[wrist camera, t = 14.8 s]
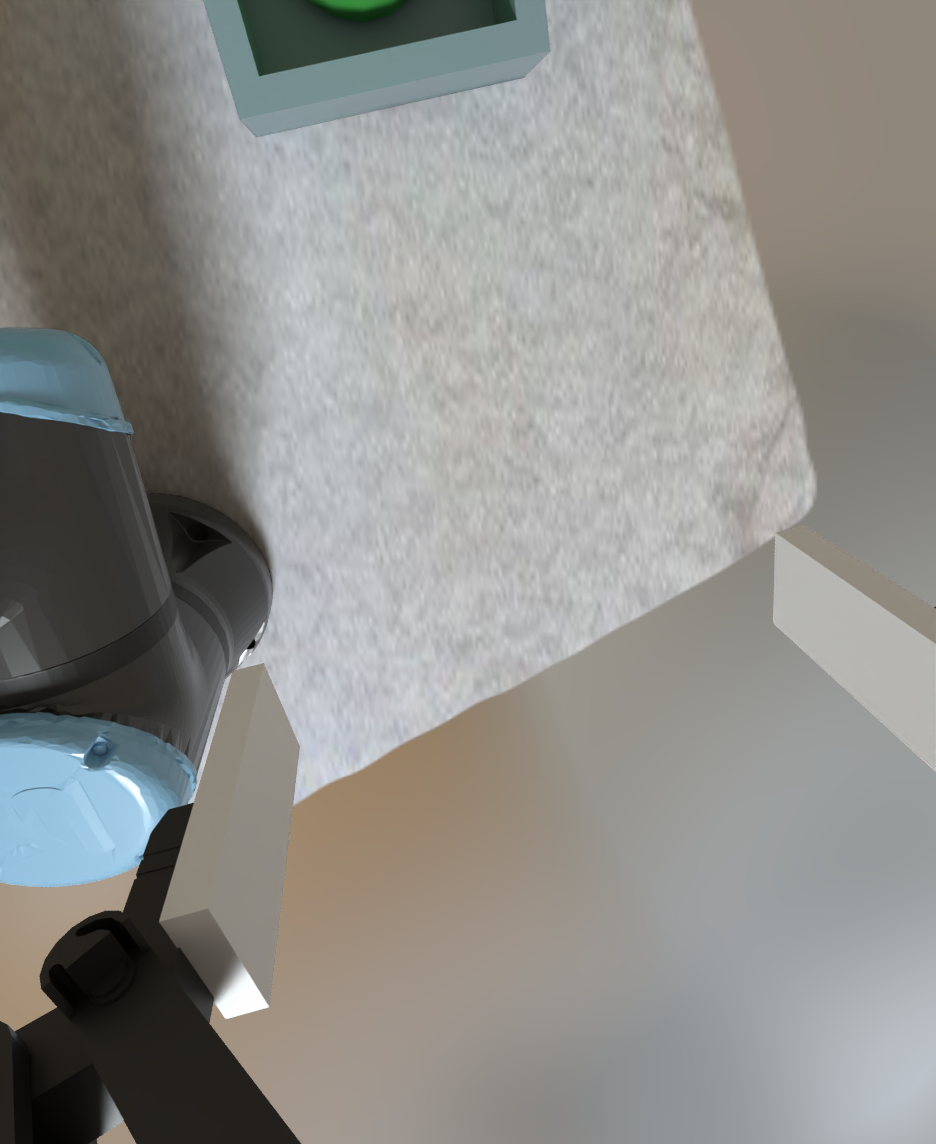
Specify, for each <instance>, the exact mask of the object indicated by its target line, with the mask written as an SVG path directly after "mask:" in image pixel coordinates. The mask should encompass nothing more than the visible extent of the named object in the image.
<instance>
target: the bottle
mask: <svg viewBox="0 0 936 1144" xmlns="http://www.w3.org/2000/svg"><path fill="white" fill-rule="evenodd" d="M307 1H309V2H310V3H312V4H313V5H315V6H317V7H318V8H320V9H322V10H323V11H325V12H326V13H328V14H330V15H331V16H333V17H334V18H340V19H346V20H352V21H358V22H367V21H371V20H374V19H378V18H382V17H385V16H389V15H392V14H393V13H394V12H395V11H396V10H397V9H399V8H400V7H401V6H402V5H403V4H405V3H406V2H407V1H408V0H307Z"/></svg>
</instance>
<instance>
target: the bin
mask: <svg viewBox="0 0 936 1144" xmlns="http://www.w3.org/2000/svg"><path fill="white" fill-rule="evenodd" d="M203 1H204V4H205V8H206V11H207V14H208V17H209V21H210V24H211V27H212V30H213V34H214V37H215V40H216V44H217V47H218V50H219V53H220V57H221V60H222V63H223V67H224V70H225V73H226V76H227V80H228V83H229V86H230V89H231V93H232V96H233V99H234V103H235V106H236V109H237V112H238V116H239V119H240V121H241V122H242V123H243V124H244V125H245V126H246V127H247V128H248V129H249V130H250V131H251V132H252V133H253V134H254V135H255V136H256V137H259V136H264V135H268V134H273V133H277V132H282V131H286V130H291V129H295V128H300V127H304V126H309V125H313V124H318V123H322V122H327V121H331V120H336V119H340V118H345V117H349V116H354V115H358V114H363V113H367V112H372V111H376V110H381V109H385V108H390V107H394V106H399V105H403V104H408V103H412V102H417V101H421V100H426V99H430V98H435V97H439V96H444V95H448V94H453V93H457V92H462V91H466V90H471V89H475V88H480V87H484V86H489V85H493V84H498V83H502V82H507V81H511V80H516V79H520V78H524V77H525V76H526V75H527V74H528V73H529V72H530V71H531V70H532V69H533V68H534V67H535V66H536V65H537V64H538V63H539V62H540V61H541V60H542V59H543V58H544V57H545V56H546V55H547V54H548V53H549V52H550V43H549V34H548V25H547V16H546V7H545V0H408V1H407V2H406V3H405V4H403V5H402V6H401V7H400V8H399V9H397V10H396V11H395V12H394V13H393V14H392V15H389V16H385V17H382V18H378V19H374V20H371V21H367V22H358V21H352V20H346V19H340V18H334V17H333V16H331V15H330V14H328V13H326V12H325V11H323V10H322V9H320V8H318V7H317V6H315V5H313V4H312V3H310V2H309V1H307V0H203Z"/></svg>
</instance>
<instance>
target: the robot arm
mask: <svg viewBox="0 0 936 1144" xmlns="http://www.w3.org/2000/svg"><path fill="white" fill-rule="evenodd" d="M132 434H134V431H133V428H132V425H131V423H129V422H127V421H126V420H125V418H124V415H123V412H122V409H121V406H120V403H119V400H118V397H117V394H116V391H115V388H114V385H113V382H112V379H111V376H110V373H109V370H108V368H107V365H106V363H105V361H104V359H103V358H102V356H101V355H100V353H99V352H98V351H97V350H96V349H95V348H94V347H93V346H92V345H91V344H90V343H89V342H87V341H86V340H84V339H83V338H81V337H79V336H77V335H75V334H73V333H70V332H67V331H63V330H56V329H43V328H14V327H0V882H2V883H6V884H14V885H21V886H34V887H57V886H70V885H78V884H85V883H90V882H95V881H99V880H103V879H106V878H110V877H113V876H115V875H118V874H121V873H123V872H126V871H128V870H130V869H132V868H134V867H136V866H137V865H139V864H140V865H139V868H138V871H137V874H136V876H137V879H135V880H134V883H133V885H132V888H131V891H130V893H129V896H128V899H127V902H126V905H125V908H124V910H123V913H122V912H121V911H104V912H101V913H98V914H95V915H93V916H90V917H88V918H86V919H85V920H83V921H82V922H80V923H78V924H77V925H76V926H74V927H72V928H71V929H70V930H69V931H68V932H67V933H66V934H65V935H64V936H63V937H62V938H61V939H60V940H59V941H58V942H57V943H56V944H55V946H54V947H53V949H52V950H51V951H50V953H49V954H48V956H47V957H46V959H45V961H44V964H43V967H42V970H41V973H40V983H41V989H42V990H43V991H44V993H45V994H46V995H47V996H48V997H49V998H50V999H51V1000H52V1002H53V1003H54V1004H55V1005H56V1006H57V1008H55V1009H54V1010H52V1011H50V1012H49V1013H47V1014H45V1015H43V1016H41V1017H40V1018H38V1019H36V1020H34V1021H32V1022H31V1023H29V1024H27V1025H25V1026H24V1027H22V1028H20V1029H18V1030H17V1031H15V1032H14V1031H13V1030H12V1029H11V1028H10V1027H9V1026H8V1025H7V1024H5V1023H3V1022H1V1021H0V1144H97V1138H98V1137H99V1136H101V1135H103V1134H104V1133H106V1132H107V1131H109V1130H111V1129H112V1128H114V1127H115V1126H117V1125H118V1124H120V1123H121V1122H123V1121H124V1122H125V1123H126V1125H127V1127H128V1129H129V1130H130V1132H131V1134H132V1136H133V1138H134V1140H135V1142H136V1143H137V1144H301V1143H300V1142H299V1141H298V1140H297V1138H296V1137H295V1135H294V1134H293V1133H292V1131H291V1130H290V1129H289V1127H288V1126H287V1125H286V1123H285V1122H284V1121H283V1119H282V1118H281V1117H280V1116H279V1114H278V1113H277V1111H276V1110H275V1109H274V1108H273V1106H272V1105H271V1104H270V1103H269V1101H268V1100H267V1098H266V1097H265V1096H264V1095H263V1093H262V1092H261V1091H260V1089H259V1088H258V1087H257V1085H256V1084H255V1083H254V1082H253V1080H252V1079H251V1077H250V1076H249V1075H248V1074H247V1072H246V1071H245V1070H244V1068H243V1067H242V1066H241V1064H240V1063H239V1062H238V1060H237V1059H236V1058H235V1057H234V1055H233V1054H232V1053H231V1051H230V1050H229V1049H228V1047H227V1046H226V1045H225V1043H224V1042H223V1041H222V1040H221V1038H220V1037H219V1036H218V1034H217V1033H216V1032H215V1030H214V1029H213V1028H212V1026H211V1025H210V1024H209V1022H210V1017H211V1012H212V1006H213V1001H214V1002H215V1004H216V1005H217V1007H218V1008H219V1010H220V1011H221V1013H222V1014H223V1016H224V1017H225V1018H226V1019H228V1018H231V1017H235V1016H239V1015H242V1014H246V1013H249V1012H253V1011H257V1010H260V1009H264V1008H268V1007H269V1005H270V996H271V988H272V979H273V971H274V962H275V954H276V945H277V936H278V928H279V919H280V910H281V902H282V894H283V885H284V876H285V867H286V860H287V851H288V843H289V834H290V825H291V817H292V809H293V800H294V791H295V783H296V774H297V766H298V757H299V749H300V746H299V744H298V741H297V739H296V737H295V734H294V732H293V730H292V727H291V725H290V723H289V720H288V718H287V716H286V714H285V711H284V709H283V707H282V704H281V702H280V700H279V697H278V695H277V693H276V690H275V688H274V686H273V684H272V681H271V679H270V677H269V674H268V672H267V670H266V667H265V665H264V663H263V664H259V665H255V666H251V667H247V668H243V669H239V670H235V669H237V667H238V666H239V665H241V664H242V663H243V662H244V661H245V660H246V659H247V658H248V657H249V656H250V654H251V653H252V652H253V651H254V649H255V648H256V647H257V645H258V643H259V642H260V640H261V638H262V636H263V634H264V631H265V629H266V626H267V622H268V618H269V614H270V610H271V605H272V582H271V577H270V573H269V569H268V567H267V564H266V562H265V559H264V557H263V555H262V554H261V552H260V550H259V549H258V547H257V545H256V544H255V543H254V541H253V540H252V539H251V538H250V537H249V535H248V534H247V533H246V532H245V531H244V530H243V529H242V528H241V527H239V526H238V525H237V524H236V523H235V522H233V521H232V520H231V519H230V518H228V517H227V516H225V515H224V514H222V513H220V512H219V511H217V510H215V509H213V508H211V507H209V506H207V505H204V504H202V503H200V502H197V501H194V500H191V499H187V498H183V497H179V496H173V495H166V494H146V491H145V487H144V484H143V480H142V477H141V473H140V470H139V467H138V463H137V460H136V456H135V453H134V449H133V446H132V442H131V439H130V435H132ZM774 573H775V574H774V612H773V613H774V614H773V623H774V624H775V625H776V626H777V627H778V628H779V629H780V630H781V631H782V632H783V633H784V634H786V635H787V636H788V637H789V638H790V639H791V640H792V641H793V642H794V643H795V644H796V645H798V646H799V647H800V648H801V649H802V650H803V651H804V652H805V653H806V654H807V655H808V656H810V657H811V658H812V659H813V660H814V661H815V662H816V663H817V664H818V665H819V666H821V667H822V668H823V669H824V670H825V671H826V672H827V673H828V674H829V675H830V676H831V677H833V678H834V679H835V680H836V681H837V682H838V683H839V684H840V685H841V686H842V687H843V688H844V689H846V690H847V691H848V692H849V693H850V694H851V695H852V696H853V697H854V698H855V699H856V700H858V701H859V702H860V703H861V704H862V705H863V706H864V707H865V708H866V709H867V710H869V711H870V712H871V713H872V714H873V715H874V716H875V717H876V718H877V719H878V720H879V721H881V722H882V723H883V724H884V725H885V726H886V727H887V728H888V729H889V730H890V731H891V732H893V733H894V734H895V735H896V736H897V737H898V738H899V739H900V740H901V741H902V742H903V743H905V744H906V745H907V746H908V747H909V748H910V749H911V750H912V751H913V752H914V753H916V754H917V755H918V756H919V757H920V758H921V759H922V760H923V761H924V762H925V763H926V764H927V765H929V766H930V767H931V768H932V769H933V770H934V771H935V772H936V607H932V606H931V605H929V604H928V603H926V602H924V601H923V600H921V599H919V598H918V597H917V596H915V595H913V594H912V593H910V592H908V591H907V590H905V589H904V588H902V587H901V586H899V585H898V584H896V583H894V582H893V581H891V580H889V579H888V578H886V577H885V576H883V575H882V574H880V573H879V572H877V571H875V570H874V569H872V568H871V567H869V566H867V565H866V564H864V563H863V562H861V561H860V560H858V559H856V558H855V557H853V556H852V555H850V554H849V553H847V552H845V551H844V550H842V549H841V548H839V547H837V546H836V545H834V544H832V543H831V542H830V541H828V540H826V539H825V538H823V537H821V536H820V535H819V534H817V533H815V532H814V531H812V530H811V529H809V528H807V527H806V526H800V527H797V528H793V529H789V530H785V531H781V532H777V533H775V572H774ZM234 670H235V671H234ZM231 673H232V675H231V679H230V682H229V686H228V689H227V692H226V696H225V699H224V703H223V706H222V709H221V713H220V716H219V720H218V723H217V726H216V730H215V733H214V737H213V740H212V743H211V747H210V750H209V754H208V757H207V760H206V764H205V767H204V771H203V774H202V777H201V781H200V784H199V788H198V791H197V794H196V798H195V801H194V803H191V804H188V802H189V800H190V799H191V798H192V794H193V793H194V791H195V788H196V784H197V778H196V776H197V773H198V769H199V766H200V762H201V759H202V755H203V752H204V749H205V745H206V742H207V738H208V735H209V732H210V728H211V725H212V721H213V718H214V714H215V711H216V708H217V704H218V701H219V697H220V694H221V690H222V687H223V684H224V681H225V679H226V678H227V677H228V676H229V675H230V674H231Z"/></svg>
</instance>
